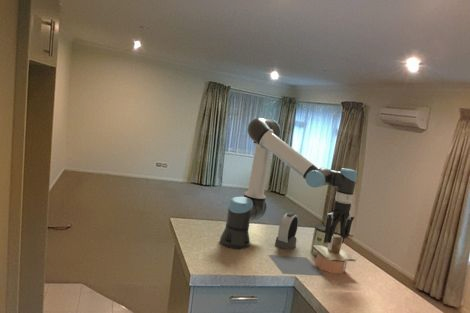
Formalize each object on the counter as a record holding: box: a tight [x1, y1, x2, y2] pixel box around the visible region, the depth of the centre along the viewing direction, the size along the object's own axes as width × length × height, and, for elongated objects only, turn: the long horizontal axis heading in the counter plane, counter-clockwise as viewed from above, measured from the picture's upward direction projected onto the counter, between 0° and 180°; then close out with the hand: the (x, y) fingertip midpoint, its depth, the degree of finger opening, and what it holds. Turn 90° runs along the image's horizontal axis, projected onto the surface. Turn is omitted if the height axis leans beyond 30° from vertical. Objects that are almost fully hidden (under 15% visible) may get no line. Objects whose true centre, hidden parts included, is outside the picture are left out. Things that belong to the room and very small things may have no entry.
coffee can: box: [310, 224, 336, 257], centre depth 193 cm, size 10×10×14 cm
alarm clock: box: [274, 211, 299, 250], centre depth 197 cm, size 16×10×18 cm, turn 152°
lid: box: [311, 233, 357, 262], centre depth 175 cm, size 15×15×9 cm
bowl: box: [315, 253, 348, 274], centre depth 176 cm, size 13×13×6 cm
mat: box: [268, 254, 326, 277], centre depth 172 cm, size 20×20×1 cm
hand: (333, 249), depth 176 cm, fingers closed on lid, 4 cm apart
